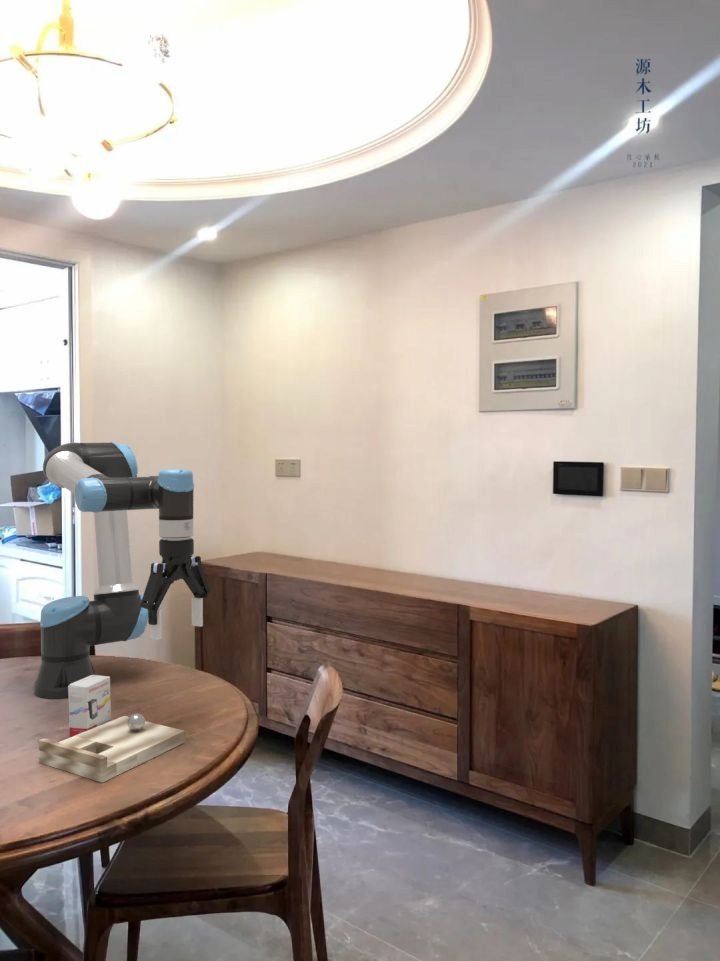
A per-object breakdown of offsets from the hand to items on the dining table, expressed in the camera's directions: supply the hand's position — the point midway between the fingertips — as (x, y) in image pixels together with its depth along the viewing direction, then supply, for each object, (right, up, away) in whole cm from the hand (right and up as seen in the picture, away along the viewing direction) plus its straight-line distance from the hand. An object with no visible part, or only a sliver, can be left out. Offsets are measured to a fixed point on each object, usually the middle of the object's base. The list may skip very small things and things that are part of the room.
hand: (177, 632), depth 166 cm
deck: (-9, -22, -14) cm, 28 cm away
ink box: (-18, -22, -4) cm, 28 cm away
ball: (-6, -17, -9) cm, 21 cm away
